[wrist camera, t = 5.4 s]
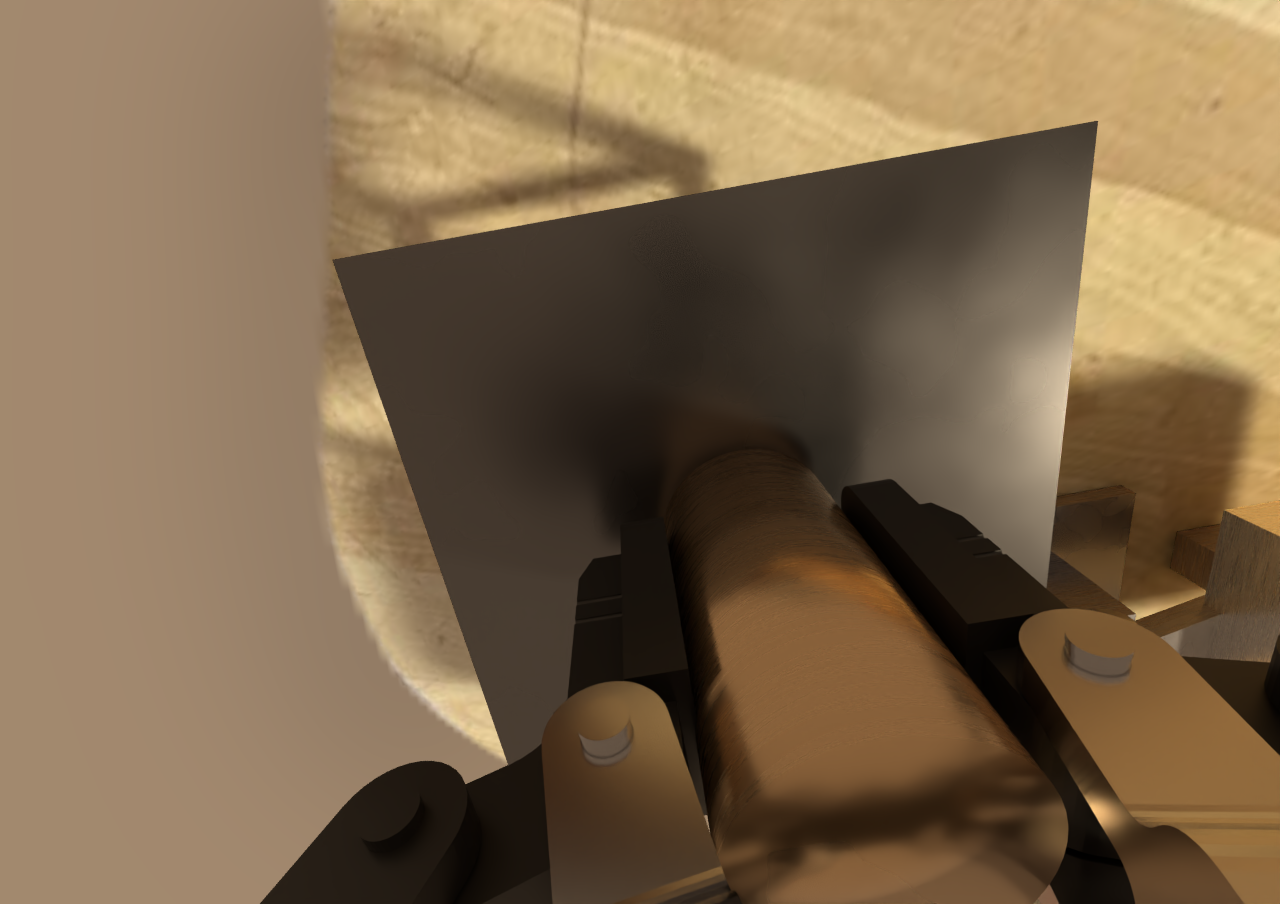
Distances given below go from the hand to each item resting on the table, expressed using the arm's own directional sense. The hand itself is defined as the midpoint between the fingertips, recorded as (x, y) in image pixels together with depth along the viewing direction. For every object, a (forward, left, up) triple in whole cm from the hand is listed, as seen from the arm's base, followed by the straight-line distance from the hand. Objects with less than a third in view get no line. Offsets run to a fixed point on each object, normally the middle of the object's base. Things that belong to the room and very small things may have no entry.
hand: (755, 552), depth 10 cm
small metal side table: (0, 0, -12) cm, 12 cm away
